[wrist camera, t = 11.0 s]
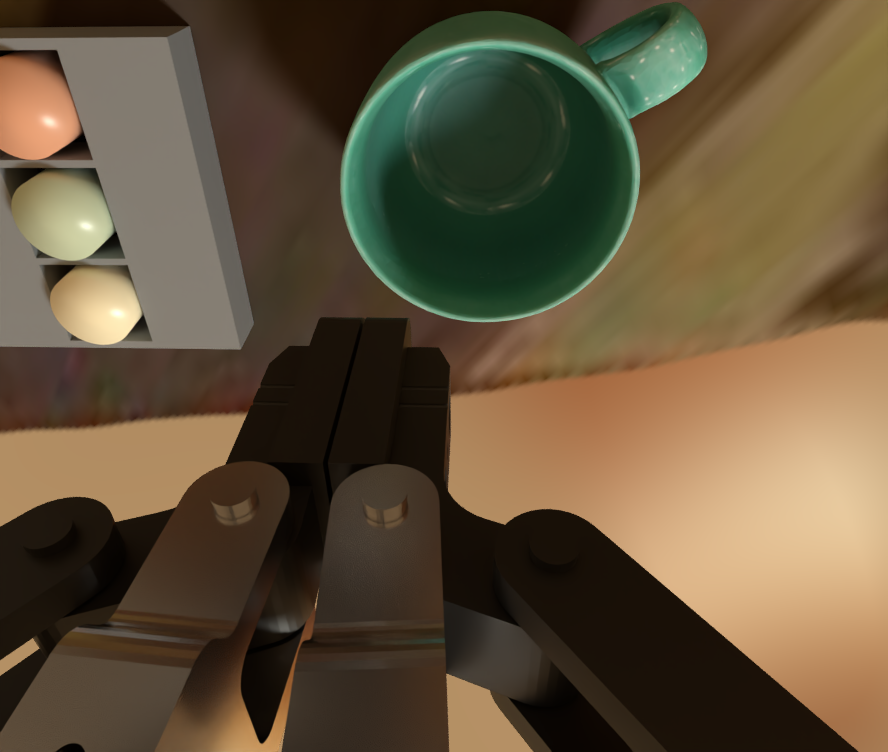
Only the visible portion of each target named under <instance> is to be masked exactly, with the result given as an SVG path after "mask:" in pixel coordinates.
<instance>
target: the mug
mask: <svg viewBox="0 0 888 752" xmlns="http://www.w3.org/2000/svg"><path fill="white" fill-rule="evenodd" d="M706 59H707V43H706V38H705V35H704V32H703V29H702V27H701V25H700V24H699V22H698V20H697V19H696V17H695V16H694V15H693V13H692V12H691V11H690V10H689V9H687V8H686V7H685V6H684V5H682V4H680V3H678V2H672V3H664V4H660V5H657V6H653V7H651V8H648V9H646V10H644V11H642V12H640V13H638V14H636V15H634V16H632V17H630V18H628V19H626V20H624V21H622V22H620V23H618V24H616V25H615V26H613V27H611V28H609V29H608V30H606V31H604V32H602V33H601V34H599V35H597V36H596V37H594V38H592V39H591V40H589V41H587V42H586V43H584V44H582V45H581V46H578V45H577V44H576V43H575V42H574V41H572V40H571V39H570V38H569V37H567V36H566V35H565V34H563V33H562V32H560V31H559V30H557V29H555V28H554V27H552V26H550V25H548V24H546V23H544V22H542V21H540V20H537V19H534V18H531V17H528V16H525V15H521V14H517V13H511V12H503V11H481V12H472V13H467V14H461V15H458V16H454V17H451V18H448V19H446V20H443V21H441V22H438V23H436V24H434V25H432V26H430V27H428V28H427V29H425V30H424V31H422V32H420V33H419V34H417V35H416V36H415V37H413V38H412V39H411V40H410V41H408V42H407V43H406V44H405V45H403V46H402V47H401V48H400V49H399V50H398V51H397V52H396V53H395V54H394V55H393V56H392V58H391V59H390V60H389V61H388V62H387V64H386V65H385V66H384V68H383V69H382V70H381V72H380V73H379V74H378V76H377V77H376V79H375V81H374V82H373V84H372V85H371V87H370V89H369V91H368V92H367V94H366V96H365V98H364V100H363V102H362V104H361V106H360V108H359V110H358V112H357V114H356V117H355V119H354V121H353V124H352V126H351V128H350V131H349V134H348V137H347V140H346V143H345V147H344V151H343V156H342V162H341V172H340V193H341V204H342V209H343V214H344V218H345V221H346V225H347V228H348V230H349V233H350V236H351V238H352V240H353V242H354V244H355V246H356V248H357V250H358V251H359V253H360V255H361V256H362V258H363V259H364V261H365V262H366V263H367V265H368V266H369V267H370V268H371V270H372V271H373V272H374V273H375V274H376V276H377V277H378V278H379V279H380V280H381V281H382V282H383V283H384V284H385V285H387V286H388V287H389V288H390V289H392V290H393V291H394V292H395V293H397V294H398V295H400V296H401V297H402V298H404V299H406V300H407V301H409V302H411V303H412V304H414V305H416V306H419V307H421V308H423V309H424V310H427V311H430V312H432V313H435V314H438V315H441V316H444V317H448V318H452V319H457V320H463V321H472V322H497V321H507V320H513V319H519V318H523V317H527V316H531V315H534V314H537V313H540V312H543V311H545V310H548V309H550V308H552V307H554V306H556V305H558V304H560V303H562V302H564V301H566V300H567V299H569V298H570V297H572V296H573V295H575V294H576V293H578V292H579V291H580V290H582V289H583V288H584V287H585V286H587V285H588V284H589V283H590V282H591V281H592V280H593V279H594V278H595V277H596V276H597V275H598V274H599V273H600V272H601V271H602V270H603V269H604V268H605V266H606V265H607V264H608V263H609V261H610V260H611V259H612V258H613V256H614V255H615V253H616V252H617V250H618V248H619V247H620V245H621V243H622V242H623V240H624V238H625V236H626V233H627V231H628V229H629V226H630V224H631V221H632V218H633V215H634V211H635V207H636V203H637V198H638V192H639V183H640V163H639V154H638V148H637V143H636V139H635V136H634V132H633V129H632V126H631V124H630V121H629V119H630V118H633V117H634V116H636V115H637V114H639V113H641V112H644V111H645V110H647V109H649V108H651V107H653V106H655V105H657V104H659V103H661V102H663V101H665V100H667V99H668V98H670V97H671V96H673V95H674V94H676V93H677V92H679V91H680V90H681V89H682V88H684V87H685V86H686V85H687V84H689V83H690V82H691V81H692V80H693V79H694V78H695V77H696V76H697V75H698V74H699V73H700V72H701V70H702V68H703V66H704V64H705V62H706Z"/></svg>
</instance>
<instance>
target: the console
mask: <svg viewBox="0 0 888 752" xmlns="http://www.w3.org/2000/svg"><path fill="white" fill-rule="evenodd" d="M0 50H57V51H58V54H59V57H60V61H61V64H62V67H63V70H64V73H65V76H66V79H67V82H68V85H69V88H70V91H71V94H72V97H73V100H74V103H75V106H76V109H77V112H78V115H79V118H80V121H81V125H82V128H83V131H84V134H85V137H86V140H87V142H71V143H69V144H68V145H66V146H65V147H63V148H61V149H60V150H58V151H57V152H55V153H54V154H52V155H50V156H49V157H46V158H43V159H39V160H27V159H22V158H18V157H15V156H13V155H10V154H8V153H6V152H4V151H2V150H1V149H0V346H14V347H96V348H177V349H241V348H242V346H243V344H244V342H245V340H246V338H247V336H248V334H249V332H250V330H251V328H252V326H253V324H254V321H253V317H252V312H251V308H250V303H249V298H248V294H247V289H246V284H245V280H244V275H243V270H242V266H241V261H240V257H239V252H238V247H237V243H236V238H235V233H234V229H233V224H232V219H231V215H230V210H229V206H228V201H227V196H226V192H225V187H224V182H223V178H222V173H221V169H220V164H219V159H218V155H217V150H216V145H215V141H214V136H213V131H212V127H211V122H210V118H209V113H208V108H207V104H206V99H205V94H204V90H203V85H202V80H201V76H200V71H199V67H198V62H197V57H196V53H195V48H194V43H193V39H192V34H191V29H190V26H136V27H18V28H0ZM37 168H96V170H97V173H98V176H99V179H100V182H101V185H102V189H103V192H104V195H105V198H106V201H107V204H108V207H109V210H110V213H111V216H112V219H113V222H114V225H115V228H116V231H117V234H118V236H111V237H110V238H108V239H107V240H106V241H105V242H104V243H103V244H102V245H101V246H100V247H99V248H98V249H97V250H96V251H95V252H94V253H93V254H91V255H90V256H89V257H87V258H84V259H81V260H75V261H69V260H61V259H58V258H54V257H52V256H49V255H47V254H45V253H43V252H42V251H40V250H39V249H37V248H36V247H35V246H33V245H32V244H31V243H30V242H29V241H28V240H27V239H26V238H25V237H24V236H23V234H22V233H21V232H20V230H19V229H18V227H17V225H16V223H15V221H14V218H13V215H12V209H11V203H12V198H13V195H14V193H15V191H16V190H17V188H19V187H20V186H21V185H22V184H24V183H25V182H27V181H28V180H30V179H31V178H33V177H34V176H36V175H37V174H39V173H38V170H37ZM74 265H128V268H129V271H130V274H131V277H132V280H133V283H134V286H135V289H136V292H137V295H138V298H139V301H140V304H141V307H142V310H143V313H144V316H142V317H141V318H140V319H139V320H138V322H137V323H136V324H135V326H134V327H133V328H132V329H131V331H130V332H129V333H128V335H127V336H126V337H125V338H124V339H122V340H121V341H119V342H117V343H114V344H109V345H99V344H93V343H89V342H86V341H84V340H81V339H79V338H77V337H76V336H74V335H73V334H71V333H70V332H68V331H67V330H66V329H65V328H64V327H63V326H62V325H61V324H60V323H59V322H58V320H57V319H56V317H55V315H54V313H53V311H52V308H51V304H50V295H51V292H52V289H53V288H54V286H55V285H56V284H57V283H58V282H59V281H60V280H61V279H62V278H63V277H64V276H65V275H67V274H68V273H69V272H70V271H71V270H72V269H73V268H74Z"/></svg>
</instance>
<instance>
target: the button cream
mask: <svg viewBox="0 0 888 752" xmlns="http://www.w3.org/2000/svg"><path fill="white" fill-rule="evenodd" d="M50 304H51V308H52V311H53V313H54V315H55V317H56V319H57V320H58V322H59V323H60V324H61V325H62V326H63V327H64V328H65V329H66V330H67V331H68V332H70V333H71V334H73V335H74V336H76V337H77V338H79V339H81V340H84V341H86V342H89V343H93V344H99V345H109V344H114V343H117V342H119V341H121V340H122V339H124V338H125V337H126V336H127V335H128V333H129V332H130V331H131V329H132V328H133V327H134V326H135V324H136V323H137V322H138V320H139V319H140V318H141V317H142V315H143V314H144V313H143V310H142V307H141V304H140V301H139V298H138V295H137V292H136V289H135V286H134V283H133V280H132V277H131V274H130V271H129V268H128V265H76V266H75V267H74V268H73V269H72V270H71V271H70V272H69V273H68V274H67V275H65V276H64V277H63V278H62V279H61V280H60V281H59V282H58V283H57V284H56V285H55V286H54V288H53V289H52V292H51V295H50Z"/></svg>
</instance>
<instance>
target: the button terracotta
mask: <svg viewBox="0 0 888 752" xmlns="http://www.w3.org/2000/svg"><path fill="white" fill-rule="evenodd" d="M82 135H84V131H83V128H82V125H81V121H80V118H79V115H78V112H77V109H76V106H75V103H74V100H73V97H72V94H71V91H70V88H69V85H68V82H67V79H66V76H65V73H64V70H63V67H62V64H61V61H60V57H59V54H58V52H57V51H55V50H18V51H15V52H12V53H10V54H7V55H4V56H1V57H0V149H1V150H2V151H4V152H6V153H8V154H10V155H13V156H15V157H18V158H22V159H27V160H39V159H43V158H46V157H49V156H50V155H52V154H54V153H55V152H57V151H58V150H60V149H61V148H63V147H65V146H66V145H68V144H69V143H71V142H73V141H74V140H76V139H77V138H79V137H80V136H82Z"/></svg>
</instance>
